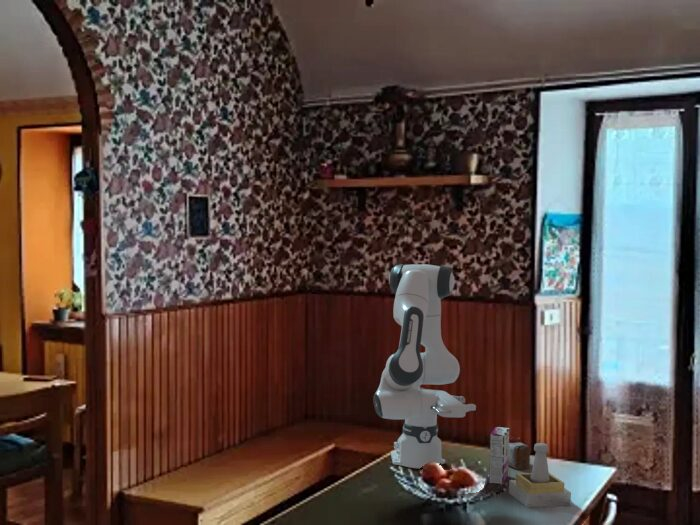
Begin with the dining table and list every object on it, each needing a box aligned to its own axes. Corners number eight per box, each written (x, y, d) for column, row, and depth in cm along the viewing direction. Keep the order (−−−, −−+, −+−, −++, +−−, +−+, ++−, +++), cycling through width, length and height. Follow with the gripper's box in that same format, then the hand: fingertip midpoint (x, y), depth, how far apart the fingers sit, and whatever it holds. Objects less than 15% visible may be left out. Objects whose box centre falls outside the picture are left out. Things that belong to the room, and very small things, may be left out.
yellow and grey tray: (508, 492, 268) (509, 472, 268) (550, 491, 271) (551, 471, 271) (527, 507, 255) (527, 485, 254) (570, 505, 257) (571, 484, 257)
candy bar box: (493, 474, 288) (495, 426, 288) (508, 476, 287) (510, 427, 286) (487, 483, 278) (489, 433, 277) (503, 485, 276) (505, 435, 276)
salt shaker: (549, 489, 259) (550, 447, 259) (529, 487, 260) (531, 445, 260) (549, 483, 265) (550, 442, 264) (530, 482, 266) (532, 440, 266)
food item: (493, 460, 307) (494, 433, 307) (512, 458, 310) (513, 431, 310) (513, 470, 294) (515, 442, 294) (533, 468, 297) (534, 440, 297)
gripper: (437, 402, 249) (482, 401, 252) (417, 386, 269) (459, 386, 272) (436, 423, 250) (481, 422, 253) (416, 406, 270) (458, 405, 273)
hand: (469, 403), depth 263 cm, fingers open, 8 cm apart
